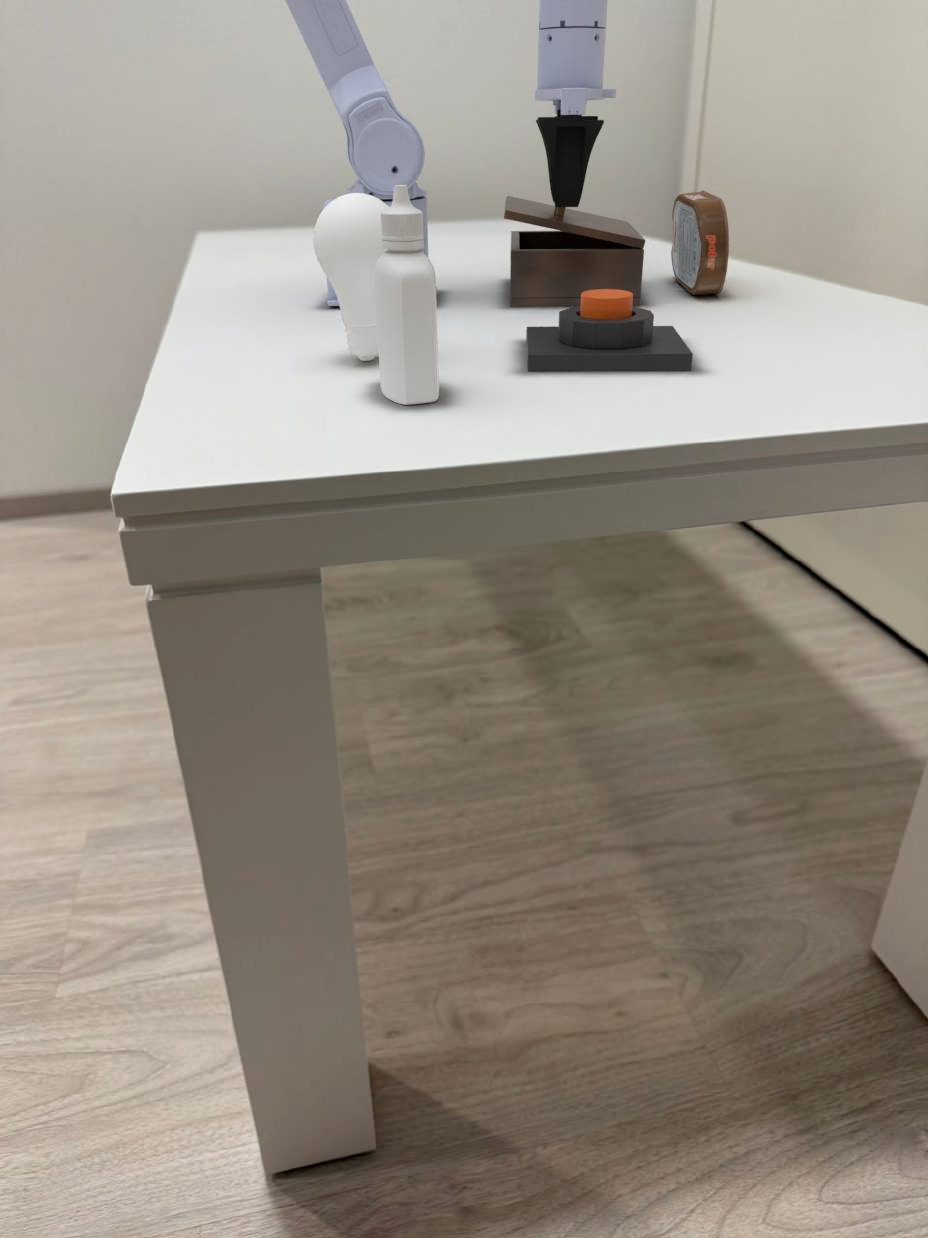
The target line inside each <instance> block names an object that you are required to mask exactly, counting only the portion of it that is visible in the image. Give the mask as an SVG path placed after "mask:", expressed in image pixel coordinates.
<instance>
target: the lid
mask: <svg viewBox="0 0 928 1238" xmlns="http://www.w3.org/2000/svg"><path fill="white" fill-rule="evenodd" d="M504 204H505V205H504V215H503V219H504V220H509V221H514V222H518V223H523V224H527V225H533V226H536V227H541V228H546V229H551V230H554V231H565V232H569V233H574V234H578V235H583V236H588V237H592V238H597V239H602V240H606V241H611V242H616V243H620V244H625V245H630V246H634V247H639V248H643V249H644V248H645V245H646V239H645V238H644V237H643V236H642V235H641V234H640V233H639V232H638V231H637V229H635V228H634V227H633V226H632V225H631V224H630V223H629V221H628V220H627V221H626V220H621V219H617V218H613V217H608V216H603V215H598V214H593V213H590V212H585V211H579V210H575V209H571V208H568V207H555V205H552V204H547V203H542V202H538V201H535V200H529V199H524V198H521V197H520V198H519V197H515V196H512V195H511V196H510V195H506V198H505V203H504Z"/></svg>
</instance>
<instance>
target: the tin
mask: <svg viewBox="0 0 928 1238" xmlns="http://www.w3.org/2000/svg"><path fill="white" fill-rule="evenodd" d="M672 207H673V208H672V213H671V214H672V216H671V219H672V245H671V253H670V254H671V255H670V257H671V265H672V271H673V275H674V279H675V281H677V282H678V284H680V285H681V286H682V287H683V288H684V289H685V290H686V291H687V292H688V293H689V294H691V295H692V296H704V295H716V296H718V295H720V294H721V292H722V291H723V289H724V286H725V283H726V278H727V273H728V266H729V252H730V236H729V233H730V231H729V230H730V229H729V219H728V213H727V208H726V205H725V202H724V200H723V198H721V197H719V196H716V195H715V194H712V193H710V192H708V191H707V190H703V189H702V190H701V191H696V192H686V193H685V192H684V193H680V194H678V195H677V196H676V198H675V199H674V202H673V206H672Z"/></svg>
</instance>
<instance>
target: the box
mask: <svg viewBox="0 0 928 1238" xmlns="http://www.w3.org/2000/svg"><path fill="white" fill-rule="evenodd" d="M644 256H645V249H644V248H639V247H634V246H630V245H625V244H620V243H616V242H611V241H606V240H602V239H597V238H592V237H588V236H583V235H578V234H574V233H569V232H565V231H560V230H512V231H511V232H510V266H509V267H510V273H509V274H510V276H509V277H510V280H509V281H510V282H509V283H510V284H509V286H510V287H509V289H510V290H509V291H510V292H509V296H510V297H509V306H510V308H570V307H577V306H581V293H582V292H585V291H588V290H596V289H616V290H624V291H629V292H631V293H633V303H632V306H634V307H640V306H641V297H642V287H643V286H642V284H643V272H644V271H643V270H644Z"/></svg>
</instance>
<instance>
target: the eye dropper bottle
mask: <svg viewBox="0 0 928 1238" xmlns="http://www.w3.org/2000/svg"><path fill="white" fill-rule="evenodd" d="M381 226H382V244H383V249H387V251H385V252H384V253H383V255H382V256H381V257H380V258H379V259H378V261H377V263H376V265H375V270H374V279H375V299H376V316H377V333H378V350H379V354H378V365H379V366H378V367H379V383H380V390H381V393H382V395H383V396H384V397H385V398H387V399H388V400H390V401H392V402H394V403H396V404H400V405H403V406H404V405H405V406H410V405H411V406H412V405H420V404H421V405H422V404H430V403H434V402H436V401H437V400H438V399H439V397H440V372H439V370H440V369H439V367H440V365H439V338H438V337H439V333H438V304H437V303H438V302H437V291H436V287H437V278H436V277H437V276H436V271H435V268H434V265H433V263H432V262H431V260H430V258H428V257H429V256H428V257H427V256H426V255H425V253H424V252H423V251H422V250H419V249H421V248H424V239H423V238H424V233H423V212H422V211H420V210H418V209H417V208H415V207H414V206H413V205H412V204H411V202H410V198H409V194H408V189H407V185H395V186H394V194H393V201H392V204H391V206H390V207H389V208H388V209H386V210H384V211H383V212H382V213H381Z"/></svg>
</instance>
